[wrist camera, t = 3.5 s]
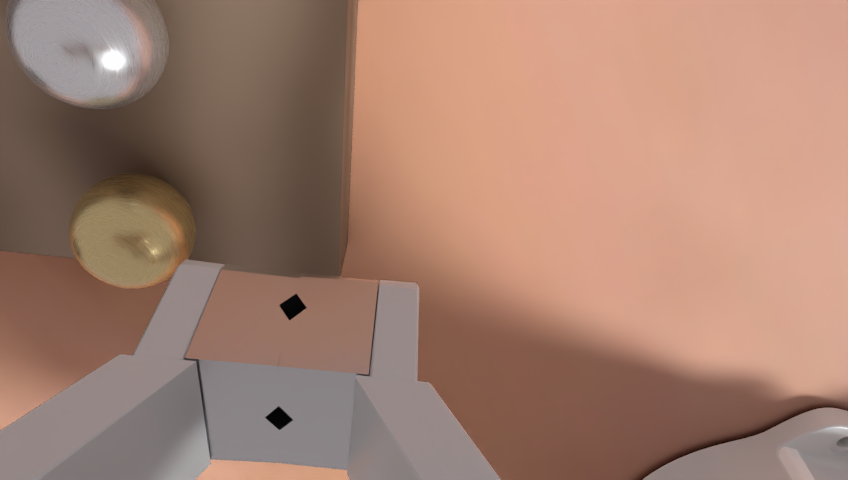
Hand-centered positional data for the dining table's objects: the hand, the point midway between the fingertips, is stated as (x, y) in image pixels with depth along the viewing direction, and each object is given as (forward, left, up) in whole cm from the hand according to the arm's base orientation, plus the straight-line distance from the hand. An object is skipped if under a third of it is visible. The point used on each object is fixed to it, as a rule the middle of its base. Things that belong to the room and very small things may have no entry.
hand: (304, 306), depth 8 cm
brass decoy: (+7, +6, -9) cm, 13 cm away
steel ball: (+7, 0, -9) cm, 11 cm away
